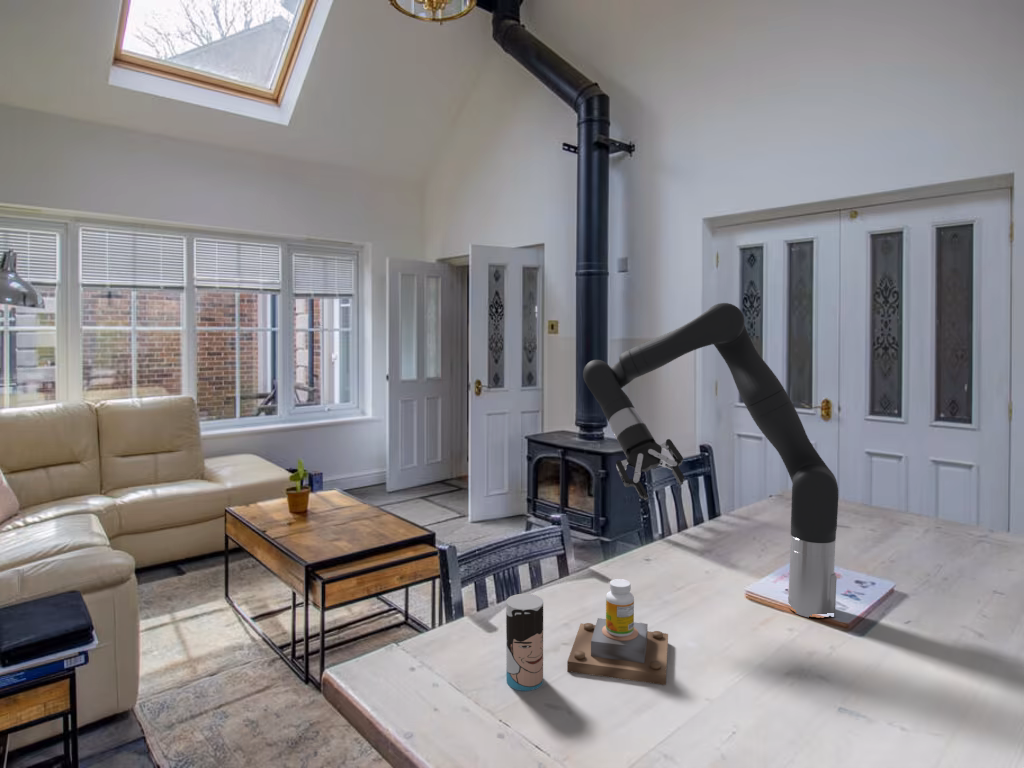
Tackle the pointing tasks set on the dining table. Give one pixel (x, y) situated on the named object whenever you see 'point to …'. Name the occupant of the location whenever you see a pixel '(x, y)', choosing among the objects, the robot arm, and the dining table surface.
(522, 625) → the printed can
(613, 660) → the plinth
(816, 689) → the dining table surface
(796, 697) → the dining table surface
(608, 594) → the supplement bottle
